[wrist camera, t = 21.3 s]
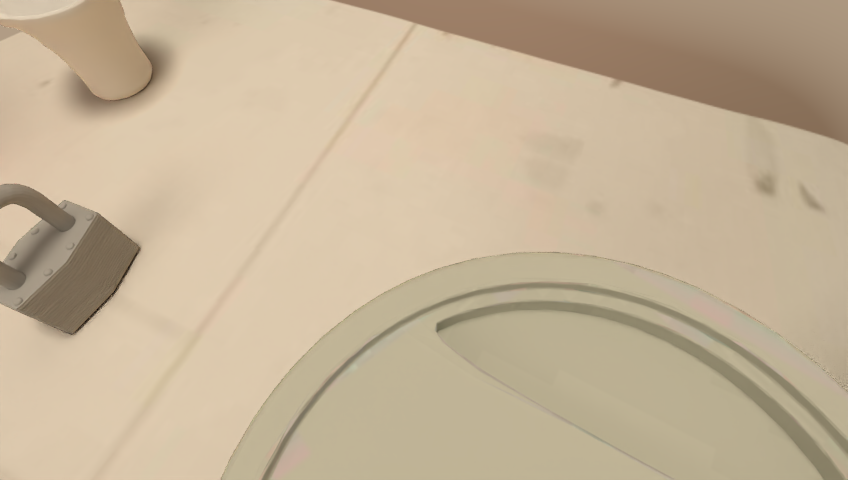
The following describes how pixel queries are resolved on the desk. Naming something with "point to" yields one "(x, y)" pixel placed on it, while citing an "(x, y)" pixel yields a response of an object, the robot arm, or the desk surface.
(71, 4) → the cup
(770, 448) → the coffee cup
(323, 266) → the desk surface
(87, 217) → the padlock
